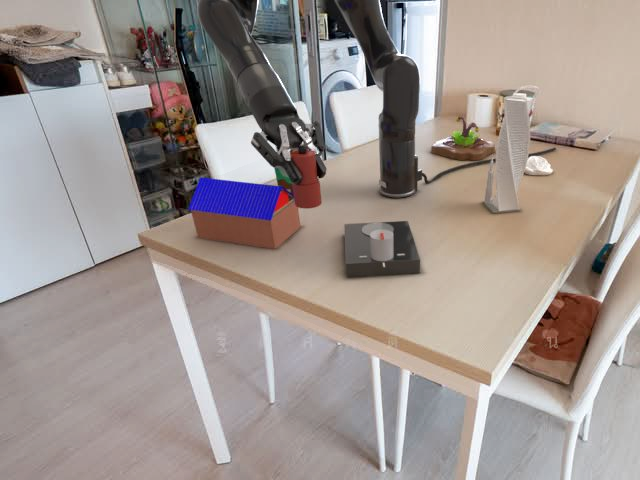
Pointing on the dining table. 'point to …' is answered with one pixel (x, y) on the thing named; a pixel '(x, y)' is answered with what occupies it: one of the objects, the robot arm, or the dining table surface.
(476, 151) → the plant
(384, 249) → the hob knob
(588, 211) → the dining table surface
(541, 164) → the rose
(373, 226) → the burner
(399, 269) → the hob
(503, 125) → the skyscraper
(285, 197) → the house
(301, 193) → the red cylindrical canister
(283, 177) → the food container
